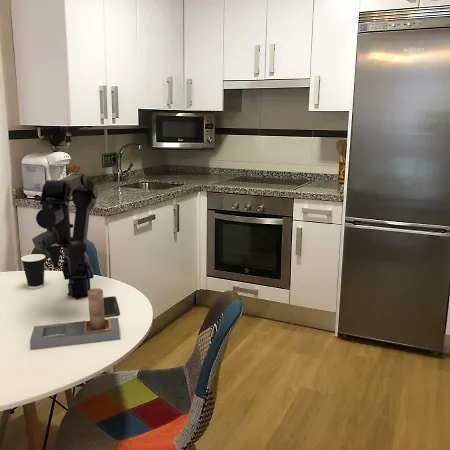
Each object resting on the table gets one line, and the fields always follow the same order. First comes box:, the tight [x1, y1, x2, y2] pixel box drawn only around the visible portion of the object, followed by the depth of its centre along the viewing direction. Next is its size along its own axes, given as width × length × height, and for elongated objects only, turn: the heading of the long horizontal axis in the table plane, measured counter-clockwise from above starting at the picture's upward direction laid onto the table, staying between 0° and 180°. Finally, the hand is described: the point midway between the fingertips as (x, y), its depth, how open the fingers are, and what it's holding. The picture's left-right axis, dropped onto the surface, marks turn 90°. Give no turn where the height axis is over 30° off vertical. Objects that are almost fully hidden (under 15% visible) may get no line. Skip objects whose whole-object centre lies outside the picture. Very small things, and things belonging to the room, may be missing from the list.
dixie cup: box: [20, 253, 46, 290], centre depth 170 cm, size 8×8×11 cm
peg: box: [87, 287, 106, 331], centre depth 133 cm, size 4×4×13 cm
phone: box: [103, 295, 121, 319], centre depth 153 cm, size 8×1×15 cm
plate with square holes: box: [29, 317, 121, 350], centre depth 133 cm, size 23×9×3 cm, turn 105°
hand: (63, 270), depth 148 cm, fingers open, 9 cm apart
